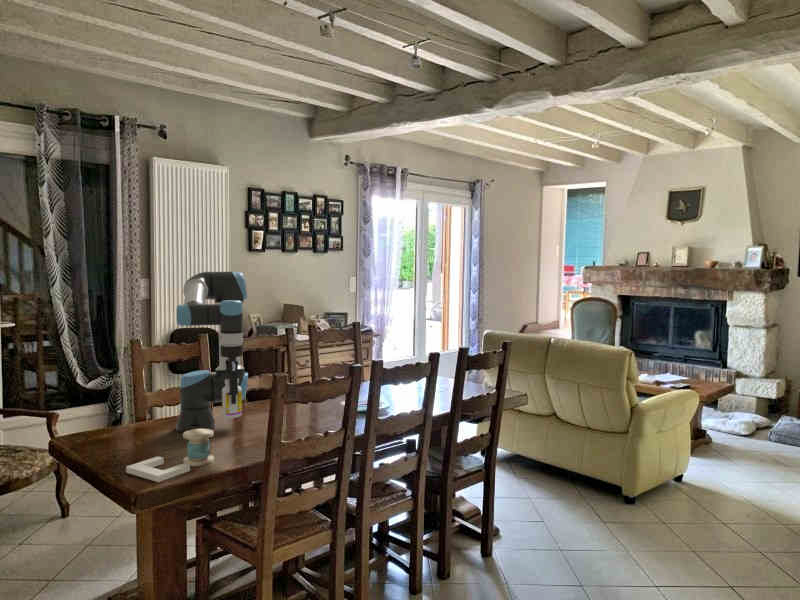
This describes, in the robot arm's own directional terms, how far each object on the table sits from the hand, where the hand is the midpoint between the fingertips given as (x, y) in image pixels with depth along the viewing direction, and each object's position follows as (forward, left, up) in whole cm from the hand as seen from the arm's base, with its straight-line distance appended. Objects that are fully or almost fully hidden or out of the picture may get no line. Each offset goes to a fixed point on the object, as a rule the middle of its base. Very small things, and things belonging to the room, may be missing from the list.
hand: (232, 410), depth 208 cm
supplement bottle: (0, 0, -2) cm, 2 cm away
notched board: (+23, -10, -17) cm, 30 cm away
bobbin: (+9, -7, -17) cm, 20 cm away
